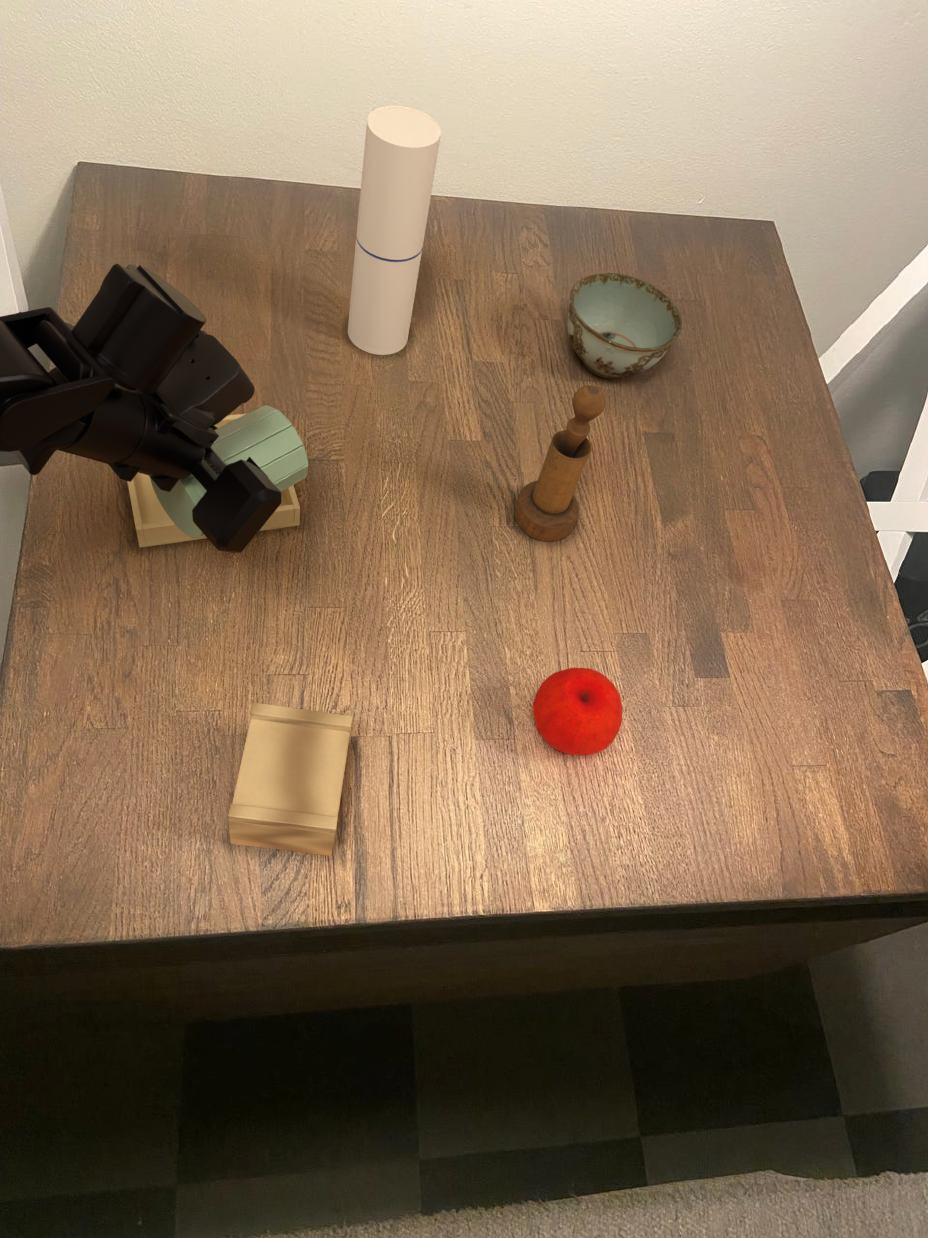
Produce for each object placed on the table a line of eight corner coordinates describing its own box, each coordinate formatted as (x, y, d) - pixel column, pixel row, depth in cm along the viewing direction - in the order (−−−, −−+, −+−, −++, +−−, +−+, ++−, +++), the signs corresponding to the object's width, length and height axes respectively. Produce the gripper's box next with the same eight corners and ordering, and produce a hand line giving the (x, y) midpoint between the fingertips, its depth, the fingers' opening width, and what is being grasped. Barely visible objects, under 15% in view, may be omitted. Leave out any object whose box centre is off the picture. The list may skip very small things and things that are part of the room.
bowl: (540, 377, 109) (558, 323, 103) (565, 312, 117) (583, 258, 110) (648, 415, 109) (673, 363, 102) (666, 347, 117) (690, 295, 110)
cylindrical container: (352, 354, 106) (373, 145, 85) (343, 313, 109) (362, 102, 89) (412, 354, 107) (447, 149, 87) (402, 314, 111) (433, 108, 90)
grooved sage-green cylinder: (200, 553, 77) (202, 505, 71) (150, 496, 78) (147, 444, 72) (303, 494, 82) (312, 445, 76) (254, 441, 83) (259, 389, 78)
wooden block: (230, 844, 72) (227, 816, 67) (253, 735, 78) (252, 701, 73) (331, 856, 73) (335, 829, 68) (347, 747, 79) (352, 715, 74)
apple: (569, 677, 87) (592, 636, 81) (626, 741, 84) (654, 703, 78) (506, 719, 83) (525, 679, 77) (563, 787, 80) (587, 751, 74)
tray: (139, 547, 86) (136, 529, 84) (120, 445, 92) (117, 425, 90) (299, 525, 91) (300, 508, 88) (271, 429, 97) (271, 410, 95)
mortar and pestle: (502, 503, 97) (544, 374, 82) (551, 486, 100) (601, 358, 85) (535, 549, 94) (585, 424, 80) (585, 531, 97) (642, 406, 82)
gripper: (259, 417, 60) (375, 467, 74) (108, 255, 65) (243, 330, 80) (161, 544, 62) (291, 568, 77) (25, 377, 68) (169, 428, 82)
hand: (249, 468), depth 79 cm, fingers closed on grooved sage-green cylinder, 7 cm apart
